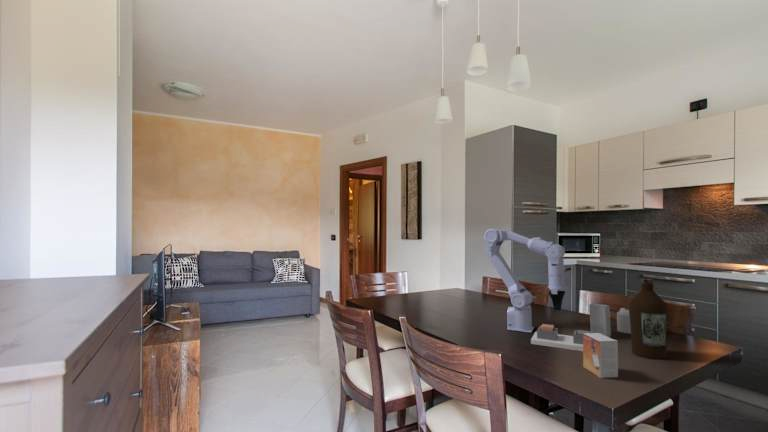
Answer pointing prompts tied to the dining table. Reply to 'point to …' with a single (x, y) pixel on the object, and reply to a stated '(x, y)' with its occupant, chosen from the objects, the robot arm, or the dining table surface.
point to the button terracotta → (547, 327)
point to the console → (558, 339)
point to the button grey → (580, 332)
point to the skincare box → (600, 319)
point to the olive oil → (648, 322)
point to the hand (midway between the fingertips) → (557, 309)
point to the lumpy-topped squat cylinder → (623, 321)
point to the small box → (600, 355)
